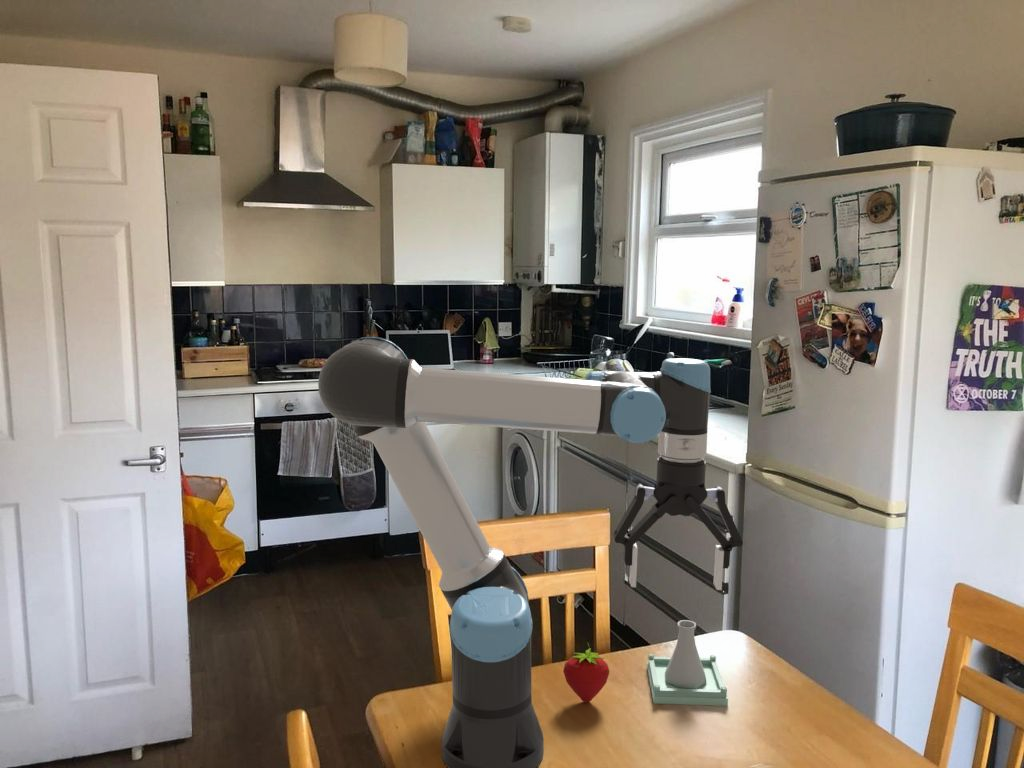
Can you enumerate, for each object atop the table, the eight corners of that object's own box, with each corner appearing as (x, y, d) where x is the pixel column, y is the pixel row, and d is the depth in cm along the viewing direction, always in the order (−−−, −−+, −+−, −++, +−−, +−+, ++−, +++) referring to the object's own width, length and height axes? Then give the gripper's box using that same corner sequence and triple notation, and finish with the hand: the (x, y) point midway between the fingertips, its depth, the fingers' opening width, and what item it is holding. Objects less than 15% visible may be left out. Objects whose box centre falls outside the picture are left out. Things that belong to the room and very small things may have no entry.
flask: (658, 684, 139) (659, 628, 138) (670, 665, 146) (671, 611, 144) (701, 694, 136) (703, 636, 135) (711, 674, 143) (713, 619, 141)
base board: (653, 703, 136) (653, 688, 135) (647, 667, 148) (647, 653, 147) (727, 705, 135) (728, 690, 134) (715, 669, 147) (715, 655, 146)
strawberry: (562, 691, 140) (562, 636, 138) (607, 692, 139) (608, 636, 138) (563, 710, 134) (563, 652, 132) (610, 711, 133) (610, 653, 132)
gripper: (604, 460, 127) (599, 592, 130) (768, 465, 126) (759, 597, 129) (600, 449, 134) (595, 574, 137) (755, 453, 134) (747, 578, 137)
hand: (674, 585), depth 133 cm, fingers open, 13 cm apart
